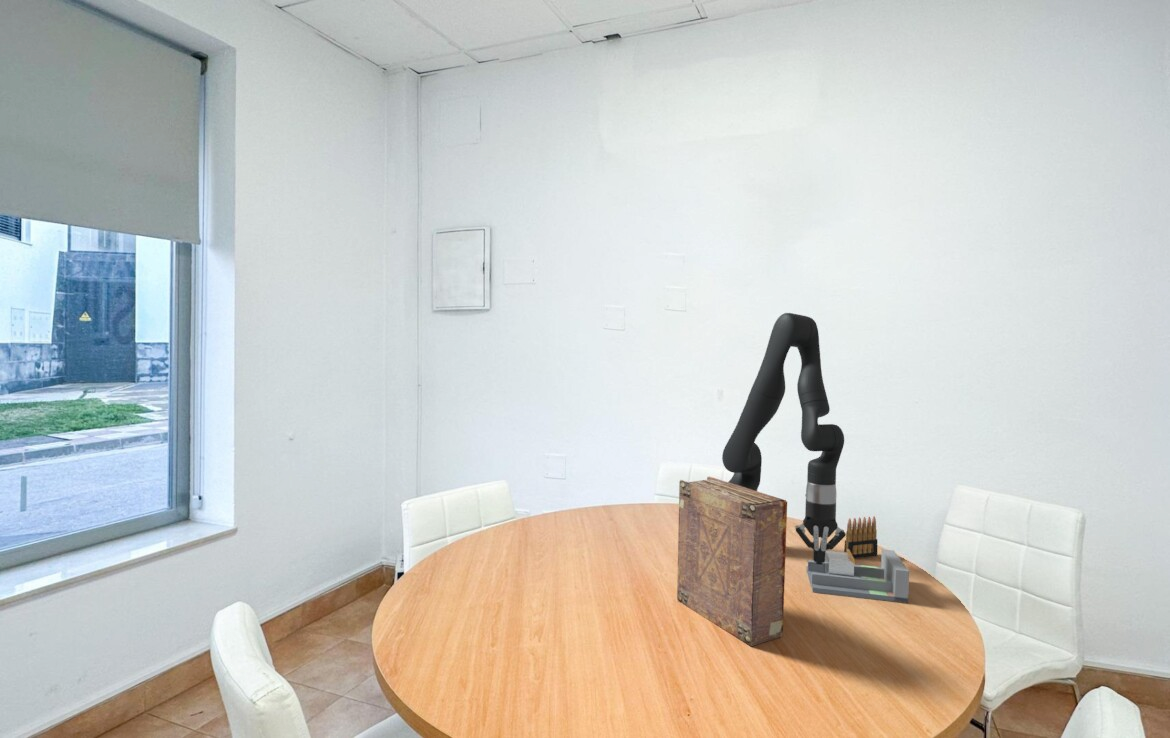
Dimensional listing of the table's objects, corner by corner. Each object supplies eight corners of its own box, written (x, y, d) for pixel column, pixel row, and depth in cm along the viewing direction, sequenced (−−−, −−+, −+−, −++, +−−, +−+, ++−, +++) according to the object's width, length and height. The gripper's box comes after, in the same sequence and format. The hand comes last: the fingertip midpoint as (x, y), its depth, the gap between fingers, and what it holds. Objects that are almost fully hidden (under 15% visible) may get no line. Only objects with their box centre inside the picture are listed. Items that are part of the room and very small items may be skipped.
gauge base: (812, 592, 149) (813, 561, 148) (806, 570, 163) (807, 542, 163) (908, 603, 143) (909, 571, 143) (892, 579, 158) (893, 550, 157)
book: (676, 600, 143) (678, 479, 142) (705, 592, 148) (708, 475, 146) (751, 647, 121) (755, 505, 120) (783, 637, 126) (787, 500, 124)
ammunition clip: (873, 553, 177) (874, 515, 177) (877, 556, 175) (879, 516, 175) (843, 557, 174) (844, 517, 174) (847, 559, 172) (849, 519, 172)
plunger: (828, 583, 151) (829, 557, 151) (824, 571, 159) (825, 546, 159) (854, 586, 149) (854, 560, 149) (848, 573, 157) (849, 549, 157)
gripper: (795, 500, 152) (793, 565, 153) (850, 505, 149) (848, 571, 150) (793, 493, 160) (791, 555, 160) (845, 497, 156) (843, 561, 157)
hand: (819, 563), depth 155 cm, fingers closed
